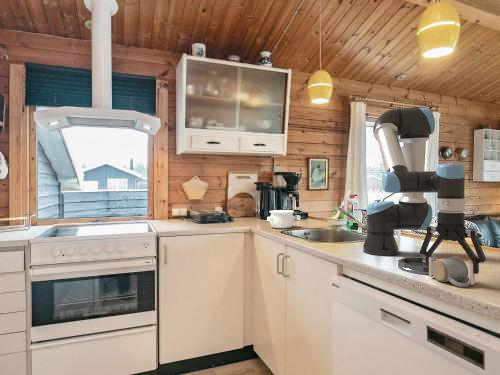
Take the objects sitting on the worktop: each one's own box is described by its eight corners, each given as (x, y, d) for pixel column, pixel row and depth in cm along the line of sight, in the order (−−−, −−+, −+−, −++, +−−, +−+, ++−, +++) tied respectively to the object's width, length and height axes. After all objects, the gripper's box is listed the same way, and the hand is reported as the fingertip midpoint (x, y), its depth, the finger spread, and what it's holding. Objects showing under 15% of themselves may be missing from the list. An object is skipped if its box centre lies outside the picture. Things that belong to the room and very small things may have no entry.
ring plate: (390, 268, 121) (390, 262, 121) (408, 261, 132) (408, 255, 132) (439, 278, 108) (439, 270, 108) (454, 268, 120) (454, 261, 120)
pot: (273, 230, 223) (272, 212, 223) (262, 227, 239) (262, 210, 239) (301, 228, 231) (300, 211, 231) (289, 225, 247) (289, 209, 247)
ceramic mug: (428, 278, 108) (428, 255, 108) (449, 276, 110) (449, 254, 109) (455, 289, 98) (455, 263, 97) (477, 287, 99) (478, 262, 99)
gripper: (408, 210, 110) (408, 275, 111) (492, 214, 93) (493, 290, 93) (416, 209, 115) (417, 270, 116) (498, 212, 98) (498, 285, 99)
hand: (451, 279), depth 105 cm, fingers closed on ceramic mug, 11 cm apart
